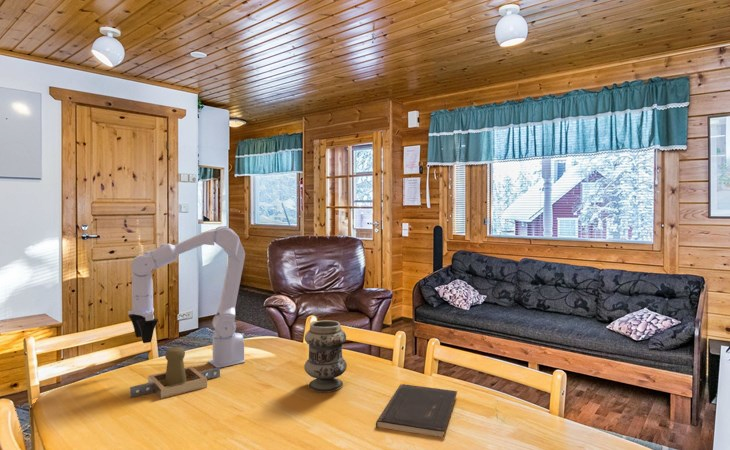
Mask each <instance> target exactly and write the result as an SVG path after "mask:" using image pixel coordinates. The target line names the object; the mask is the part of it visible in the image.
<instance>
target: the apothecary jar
mask: <svg viewBox="0 0 730 450" xmlns="http://www.w3.org/2000/svg"><path fill="white" fill-rule="evenodd" d="M346 339H347V333H346V332H345V330H343V329H342V328H341V323H340V322H339V321H338V320H337V321H336V320H327V319H325V320H324V319H323V320H317V321H313V322H311V323H310V327H309V329H308V331H306V333H305V334H304V341H305V343H306V344H307V345H308V359H307V360H306V361H305V362H304V365H303V366H304V367H303V368H304V371H305V373H306V374H307V375H308V376H310V377H311V378H314V379H312V380H311V381H310V382H309V383H308V388H309V390H311V391H312V392H316V393H331V392H335V391H338V390H340V389H342V388H343V386H344V382H343V381H342V380H341V379H339V378H338V377H340V376H341V375H343V374H344V373H345V372H346V370H347V367H348V366H347V365H348V364H347V361H346V359H345V358H343V344H344V343H345V342H346Z"/></svg>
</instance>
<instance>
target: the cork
mask: <svg viewBox="0 0 730 450" xmlns="http://www.w3.org/2000/svg"><path fill="white" fill-rule="evenodd" d="M164 355H165V360H166V361H167V363H166V364H167V365H166V369H165V370H166V371H165V372H166V378H165V382H164V385H163V386H164V387H166V386H170V385H175V384H179V383H183V382H187V381H188V380H187V377H186V375H185V368H186V367H185V363H184V358H185V356H186V351H185V349H184V348H183V347H181V346H173V347H169V348H168V349H166V351H165V353H164Z"/></svg>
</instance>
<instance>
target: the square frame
mask: <svg viewBox="0 0 730 450" xmlns="http://www.w3.org/2000/svg"><path fill="white" fill-rule="evenodd" d="M184 368H185V375H186V378H190V379H191V380H186V381H187V382H183V383H179V384H175V385H170V386H166V387H164V386H165V385H163V383H164V384H165V378H166V371H164V372H160V373H155V374H151V375H147V383H142V384H137V385H132V386H130V387H129V397H130V398H136V397H139V396H143V395H148V394H152V393H153V394H154V393H155V394H156V395H157V396H158V397H159V398H160V399H161V400H163V399H165V398H169V397H173V396H178V395H182V394H185V393H190V392H195V391H198V390H202V389H205V388H208V380H211V379H214V378H215V379H216V378H219V377H221V368H219V367H217V368H216V367H214V368H208V369H204V370H199V371H198V370H197V369H196V368H194V367H193V366H187V367H184Z"/></svg>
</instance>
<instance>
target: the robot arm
mask: <svg viewBox="0 0 730 450" xmlns="http://www.w3.org/2000/svg"><path fill="white" fill-rule="evenodd" d="M215 244H216V245H218V246H219V247H221V248H222V249H223V251H224V252H225V254H226V255H227V256H228V262H227V267H226V273H225V277H224V283H223V288H222V292H221V298H220V303H219V305H218V307H217V312H216V314H215V315H214V317H213V318H212V327H213V328H214V333H212V358H211V359H209V360H208V363H210V365H212V366H213V367H214V368H217V367H219V368H220V369H221V368H225V367H228V366H233V365H238V364H242V363H245V362H246V360H245V341H244V340H245V339H244V336H243V335H242V334H241V333H239V332H237V333H236V331H237V324H236V320H235V319H236V304H237V301H238V300H237V299H238V296H239V295H238V294H239V290H240V284H241V278H242V274H243V269H244V263H245V259H246V252H245V249H244V247H243V244H242V242H241V240H240V236H239V235H238V234H237V233H236V232H235V230H233V229H232V228H230V227H227V226H222V225H221V226H218V227H216V228H211V229H208V230H204V231H202V232H200V233H198V234H196V235H193V236H192V237H189V238H188V239H187V238H186V239H185V240H183V241H181V242H178V243H177V244H171V243H164V242H163V243H161V244H160V245H159V247H157V248H154V249H152V250H150V251H148V250H146V251H144V254H139V255H137V256H135V257H134V258H133V259H132V262H131V263H130V268H131V271H132V274H131V278H132V280H131V298H132V299H131V301H132V302H131V303H132V304H131V306H132V307H131V308H132V309H131V310H128V311H127V314H128V318H129V320H130V321H131V323H132V326H133V330H134V334H135V338H141V341H142V343H143V344H149V343H151V342H152V340H153V339H152V338H153V335H154V331H155V327H156V325H157V324H158V322H159V319H158V318H154V312H155V308H154V284H153V283H154V282H153V281H154V280H153V275H152V272H153V269H154V270H157V269H160V268H162V267H165V266H166V265H168V264H169V265H170V264H171V263H173V262H176V261H177V260H178V258H179V255H181V254H184V253H186V252H189V251H192V250H193V249H196V248H199V247H201V246H204V245H205V246H206V245H207V246H215Z"/></svg>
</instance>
